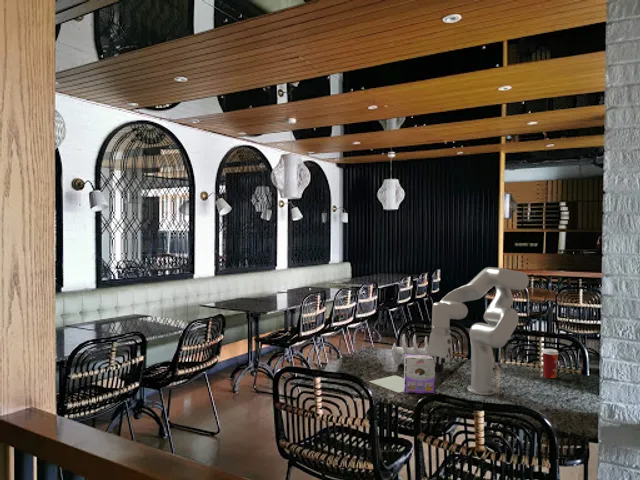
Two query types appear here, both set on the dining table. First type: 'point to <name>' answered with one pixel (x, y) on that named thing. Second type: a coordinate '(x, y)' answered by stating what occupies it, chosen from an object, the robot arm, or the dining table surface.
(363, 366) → the dining table surface
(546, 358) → the paper cup
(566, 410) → the dining table surface
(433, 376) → the candy box
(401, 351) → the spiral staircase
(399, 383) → the mat
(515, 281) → the robot arm
